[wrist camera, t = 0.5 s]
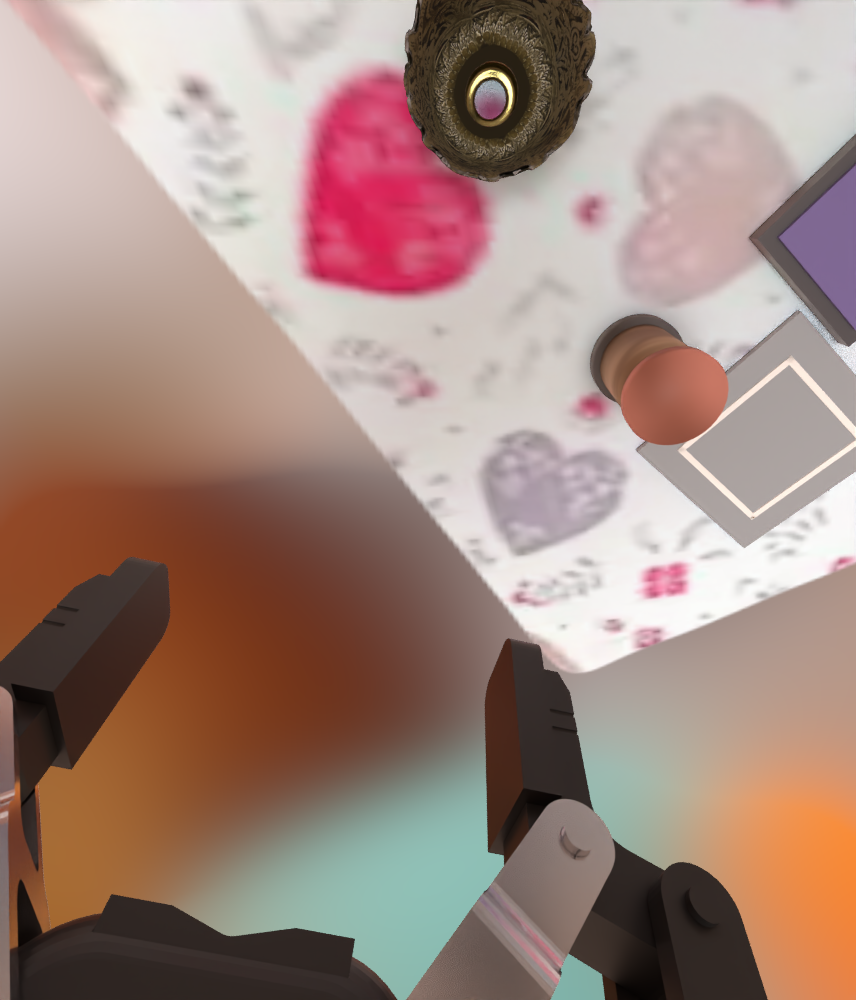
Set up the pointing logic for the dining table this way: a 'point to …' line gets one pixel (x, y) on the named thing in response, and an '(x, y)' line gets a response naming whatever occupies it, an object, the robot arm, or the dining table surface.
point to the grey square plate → (770, 435)
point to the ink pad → (819, 243)
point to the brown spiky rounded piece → (504, 58)
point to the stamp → (658, 380)
